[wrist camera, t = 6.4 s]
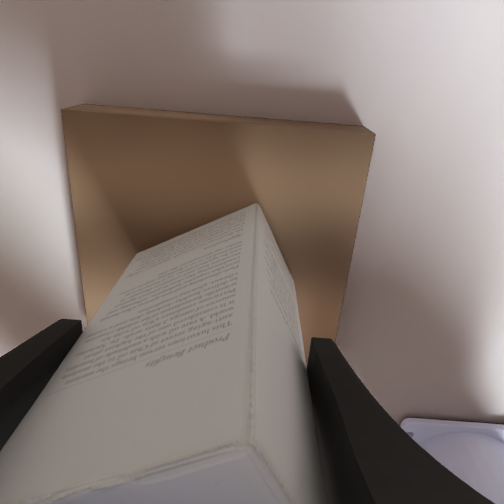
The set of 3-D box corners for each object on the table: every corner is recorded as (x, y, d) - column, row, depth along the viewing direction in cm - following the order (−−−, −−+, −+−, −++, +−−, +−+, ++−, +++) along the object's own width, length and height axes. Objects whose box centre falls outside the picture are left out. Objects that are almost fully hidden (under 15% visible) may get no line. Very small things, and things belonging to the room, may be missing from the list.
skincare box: (181, 326, 20) (69, 653, 9) (135, 251, 18) (-72, 533, 7) (300, 281, 18) (345, 598, 7) (261, 197, 17) (247, 437, 6)
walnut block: (321, 340, 23) (328, 377, 21) (112, 323, 23) (91, 358, 21) (359, 123, 18) (375, 134, 16) (91, 102, 18) (60, 109, 16)
